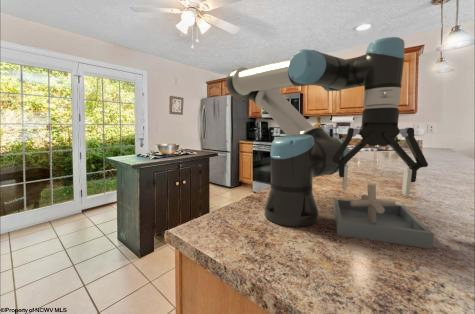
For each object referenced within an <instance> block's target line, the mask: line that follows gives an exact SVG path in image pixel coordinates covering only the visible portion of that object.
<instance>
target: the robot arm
mask: <svg viewBox="0 0 475 314" xmlns="http://www.w3.org/2000/svg"><path fill="white" fill-rule="evenodd" d="M405 45H406V44H405V40H404V39H403V38H401V37H397V36H388V37H382V38H379V39H376V40H374V41H372V42H370V43H369V44H368V45H367V49H366V51H365V54H362V55H359V56H358V57H356V56H355V57H353V58H349V59H344V58H341V57H337V56H334V55H330V54H327V53H323V52H322V51H321V52H320V51H318V50H315V49H307V48H305V49H299V50H298V51H296V53H295V54H294V55H292V57H290V58H288V59H283V60H279V61H276V62H271V63H267V64H263V65H259V66H256V67H251V68H247V67H238V68H235V69H233V70H232V71H230V72H229V73H228V75H227V77H226V80H225V85H226V89H227V92H228V93H229V94H230V95H231V96H232V97H234V98H235V99H238V100H249V101H253V102H254V104H255V105H256V106H257V107H258V108H259V109H264V110H265V112H266V113H268V115H269V116H270V117H271V118H272V120H273V121H274V122H275V123H276V124H277V126H278V127H279V128H280V129H281V131H282V132H283V133H284V134H285V136H279V137H276V138H274V139H273V141H272V142H271V147H270V154H269V155H270V191H269V193H268V196H267V198H266V202H265V206H264V216H265V218H266V219H267V220H268V221H270V222H271V223H274V224H278V225H281V226H286V227H295V228H296V227H307V226H311V225H315V223H317V222H318V220H319V209H318V206H317V203H316V200H315V197H314V193H313V179H314V178H317V177H322V176H326V175H327V176H331V175H334V174H336V173H337V174H338V176H339V178H342V185H341V186H342V191H347V189H348V173H349V165H348V162H350V161H351V159H353V158H354V157H355V156H356V155H357V154H358V153H359V152H360V151H361V150H362V149H363V148H365V147H366V146H367V145H368V146H370V147H376V146H380V147H386V146H389V147H390V148H391V149H392V150H393V151H394V152H395V153H396V154H397V156H398V157H399V158H400V159H401V160H402V161H403V163H404V164H406V166H407V167H404V168H403V177H402V178H403V179H402V187H401V193H402V194H403V195H404V197H410V194H411V193H410V192H411V185H412V184H411V183H415V182H416V180H417V174H418V173H417V172H418V170H419V169H421V168H427V167H428V166H429V163H428V161H427V159H426V157H425V155H424V153H423V151H422V149H421V147H420V145H419V143H418V142H417V139H416V137H415V128H414V127H404V128H400V127H399V116H400V109H399V107H398V106H400V104H401V103H400V102H401V95H402V94H401V92H402V82H403V81H402V80H403V72H404V64H405V60H406V57H405V47H406V46H405ZM306 86H318V87H321V88H323V89H324V91H326V92H335V91H336V92H339V91H342V90H349V89H353V88H359V87H363V88H364V90H363V102H362V103H363V104H362V106H363V108H365V109H363V110H362V113H361V114H362V115H361V127H360V128H354V127H348V129H347V131H346V136H345V138H344V139H343V140H342V139H341V138H338V137H333V136H330V135H329V134H328V133H327V132H326V131H325V130H324V129H323V128H322V127H320V126H319V127H318V126H316V127H314V126H313V125H312V124H311V123H310V122H309V121H308V120H307V118H306V117H304V116H303V115H302V113H301V112H299V110H297V108H296V107H295V106H294V105H293V104H292V103H291V102H290V101H289V100H288V99H287V98H286V97H285V96H284V95H283V94H282V93H281V89H286V88H292V87H293V88H294V87H306ZM357 135H360V137H361V138H362V139H361V140H360V141H358V143H357V144H356V145H354V146H353V147H352V148H351V149H350V151H349V148H348V146H349V144H350V142H351V141H352V140H353V138H354V137H356V136H357ZM398 135H401V137H402V138H404V139H405V141H406V144H407V146H408V148H409V150H410V151H411V154H412V156H413V158H414V159H412V158H411V156H410V155H409V154H408V153H407V152H406V151H405V150H404V149H403V148H402V146H401V145H400V144H399V143H398V141H397V140H396V138H397V137H398ZM414 160H415V161H416V162H415V161H414Z"/></svg>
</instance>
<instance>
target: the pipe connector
mask: <svg viewBox="0 0 475 314" xmlns="http://www.w3.org/2000/svg"><path fill="white" fill-rule="evenodd" d="M376 185H377V184H376V183H367V194H362V195H361V196H360V197H361V199H349V200H350V205H351V206H352V207H358V206H368V222H370V223H376V212H378V213H380V214H381V213H383V212H384V211H385V209H384V207H382V206H395V204H396V200H395V199H394V198H391V199H389V198H387V199H385V198H384V199H382V198H381V199H377V186H376Z"/></svg>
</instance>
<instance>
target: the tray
mask: <svg viewBox="0 0 475 314" xmlns="http://www.w3.org/2000/svg"><path fill="white" fill-rule="evenodd" d="M350 200H351V199H341V198H333V214H334V222H335V229H336V234H337V236H342V237H350V238H354V239H355V238H356V239H361V240H369V241H370V240H371V241H376V242H383V243H390V244H395V245H403V246H409V247H416V248H422V249H431V250H432V249H433V243H434V232H433V231H431V230H430V229H429V228H428V226H426V224H424V223H423V222H422V221H421V220H420V219H419V218H418V217H417V216H416V215H415V214H414V213H412V211H410V210H409V209H408V208H407V207H406V206H405V205H403V204H396V203H395V206H382V207H384V209H385V211H384V212H383V213H381V214H380V213H378V212H376V223H370V222H368V206H358V207H352V206H351V205H350Z"/></svg>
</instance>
